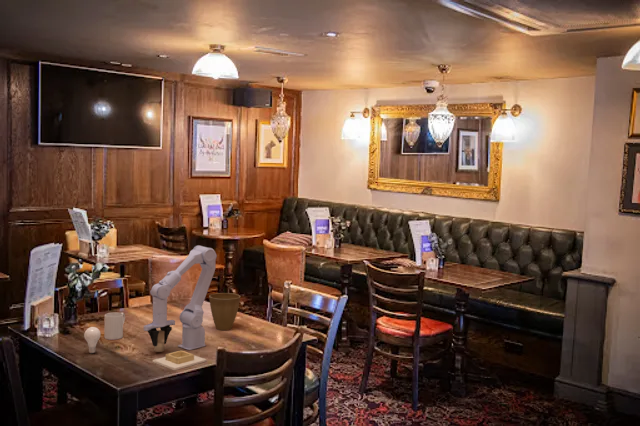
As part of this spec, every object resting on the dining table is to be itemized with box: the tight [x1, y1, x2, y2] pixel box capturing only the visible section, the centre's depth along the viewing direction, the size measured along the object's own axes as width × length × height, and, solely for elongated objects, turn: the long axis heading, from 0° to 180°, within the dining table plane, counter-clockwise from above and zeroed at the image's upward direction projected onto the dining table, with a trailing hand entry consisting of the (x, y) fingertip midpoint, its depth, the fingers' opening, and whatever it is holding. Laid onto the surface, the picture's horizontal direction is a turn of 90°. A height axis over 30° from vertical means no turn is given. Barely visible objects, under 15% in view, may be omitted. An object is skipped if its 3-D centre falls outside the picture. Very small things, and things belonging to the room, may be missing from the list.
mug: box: [103, 311, 126, 341], centre depth 293 cm, size 12×8×10 cm, turn 165°
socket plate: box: [152, 350, 208, 371], centre depth 262 cm, size 16×14×3 cm
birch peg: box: [153, 329, 165, 353], centre depth 272 cm, size 4×4×8 cm
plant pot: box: [208, 292, 241, 331], centre depth 314 cm, size 15×15×16 cm
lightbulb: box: [83, 326, 102, 354], centre depth 268 cm, size 6×6×11 cm
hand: (159, 344), depth 272 cm, fingers closed on birch peg, 4 cm apart
